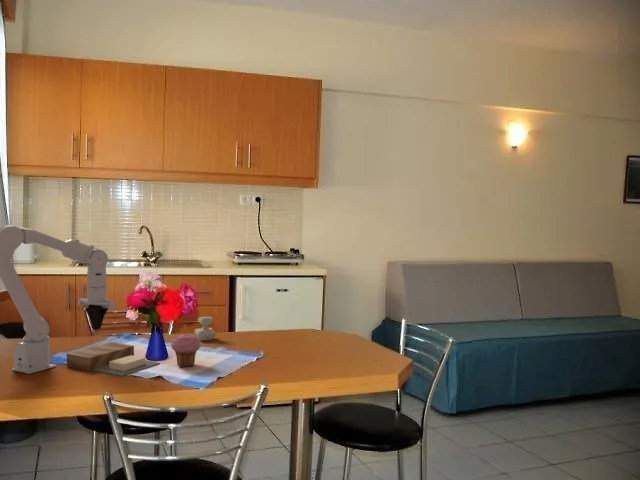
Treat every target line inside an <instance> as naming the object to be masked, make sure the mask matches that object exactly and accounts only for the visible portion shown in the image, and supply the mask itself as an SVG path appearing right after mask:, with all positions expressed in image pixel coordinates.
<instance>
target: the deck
mask: <svg viewBox="0 0 640 480" xmlns="http://www.w3.org/2000/svg"><path fill="white" fill-rule="evenodd" d="M130 355H132V356H135V346H134V345H133V344H132V345H130V344H125V343H118V342H113V341H111V342H106V343H103V344H99V345H95V346H91V347H88V348H84V349H79V350H76V351H72V352H68V353H66V367H69V368H72V369H76V370H77V369H78V370H83V371H86V372H87V371H88V372H90V371H92V372H93V370H92V369H95V368H99V367H102V366H106V365H109V362H110V361H113V360H117V359H120V358H123V357H127V356H130Z"/></svg>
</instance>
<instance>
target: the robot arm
mask: <svg viewBox="0 0 640 480" xmlns="http://www.w3.org/2000/svg"><path fill="white" fill-rule="evenodd" d="M22 244H25V245H29V244H38V245H41V246H45V247H46V248H47V247H48V248H51V249H54V250H58V251H60V253H61V254H62V256H63V257H64V258H66V259H67V258H68V259H70V260H73V261H75V262H79V263H81V264H86V265H87V271H86V297H81V298H78V300H77V305H78V306H81V305H82V306H83V305H84V306H88V307H85V308H84V311H85V312H86V314H87V316H88V318H89V320H90V324H91V328H92V330H95V331H97V330H101V328H102V325H103V321H104V318H105V316H106V314H107V312H108V310H114V309H117V308H116V305H117V303H116V302H115V301H112V300H109V299H108V298H107V265H108V263H109V257H108V255H107V253H106V251H104V250H102V249H100V248H98V247H95V245H92V244H90V245H88V244H86V243H82V242H80V240H79V239H77V238H74V239H71V238H70V239H68V240H64V241H63V240H61V239H58V238H56V237H53V236H50V235H48V234H45V233H42V232H40V231H38V230H34V229H33V228H32V229H31V228H25V227H20V226H19V227H17V226H16V225H13V224H6V225H3V226H1V227H0V279H1V281H2V284H3V285H4V287H5V289H6V290H7V294H9V296H10V299H11V300H12V302H13V303H14V306H15V307H16V310H17V312H18V313H19V315H20V317H21V318H22V321H23V323H22V324H23V326H22V327H23V330H24V332H25V333H26V334H25V335H24V336H23V337H22V341H20V342H18V343H16V344H15V345H14V347H13V368H11V371H15V372H19V373H24V374H33V373H37V372H41V371H45V370H49V369H51V368H55V367H57V365H56V364H53V363H50V335H49V334H50V325H49V323H48V322H47V321H46V320H45V318H44V317H43V316H41V315H40V314H39V312H38V311H37V309H36V306H35V305H34V303H33V301H32V299H31V298H30V295H29V294H28V291H27V290H26V287H25V286H24V284H23V282H22V281H21V278H20V275H18V273H17V270H16V269H15V267H14V265H13V263H12V262H11V260H12V258H13V255H14V253H15V252H16V250H17V249H18V248H19V247H20V246H21V245H22Z"/></svg>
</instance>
